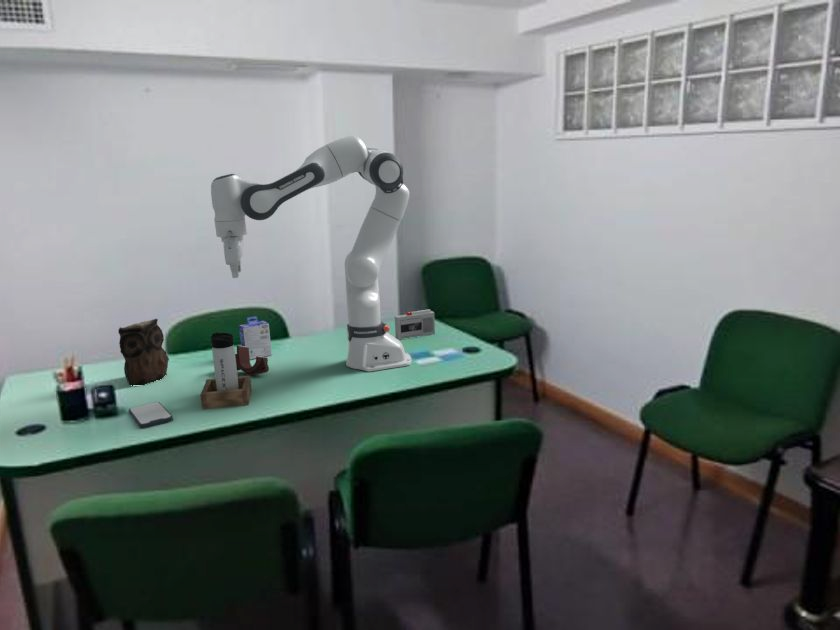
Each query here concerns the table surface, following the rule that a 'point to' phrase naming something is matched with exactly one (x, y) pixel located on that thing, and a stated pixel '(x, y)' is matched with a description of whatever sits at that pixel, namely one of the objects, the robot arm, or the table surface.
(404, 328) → the cassette player
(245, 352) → the bracket
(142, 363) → the owl
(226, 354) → the travel mug
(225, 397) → the wooden caddy
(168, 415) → the phone case
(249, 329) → the ink cartridge box
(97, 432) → the table surface
